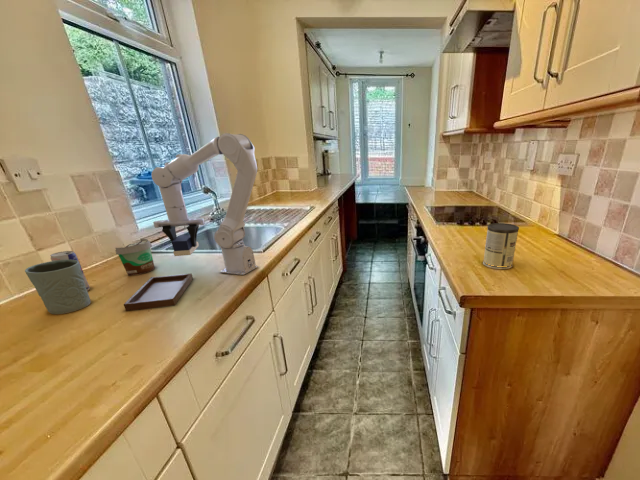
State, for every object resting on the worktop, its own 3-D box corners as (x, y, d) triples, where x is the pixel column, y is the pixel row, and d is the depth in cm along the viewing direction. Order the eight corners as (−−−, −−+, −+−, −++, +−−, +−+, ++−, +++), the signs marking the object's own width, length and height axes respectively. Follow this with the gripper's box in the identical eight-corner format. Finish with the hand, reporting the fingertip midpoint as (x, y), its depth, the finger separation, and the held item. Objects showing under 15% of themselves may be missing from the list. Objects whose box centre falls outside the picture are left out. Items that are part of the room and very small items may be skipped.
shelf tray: (193, 278, 104) (191, 273, 103) (174, 305, 87) (172, 298, 86) (153, 282, 101) (151, 277, 101) (125, 311, 84) (123, 304, 83)
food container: (142, 277, 106) (132, 248, 102) (124, 277, 106) (113, 248, 102) (166, 264, 117) (158, 238, 113) (150, 264, 117) (141, 238, 113)
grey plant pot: (56, 302, 89) (37, 262, 84) (101, 296, 93) (84, 257, 88) (37, 318, 81) (14, 275, 76) (87, 311, 84) (68, 268, 79)
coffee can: (487, 258, 122) (492, 221, 116) (515, 263, 117) (521, 225, 111) (478, 266, 114) (483, 227, 108) (508, 271, 109) (515, 231, 103)
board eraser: (190, 255, 105) (186, 240, 103) (174, 256, 104) (170, 242, 102) (199, 245, 115) (195, 232, 113) (184, 246, 113) (180, 233, 111)
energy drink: (94, 289, 97) (79, 251, 92) (74, 296, 93) (56, 257, 88) (83, 286, 99) (67, 249, 94) (62, 293, 94) (44, 255, 89)
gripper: (202, 203, 108) (212, 242, 114) (154, 205, 105) (166, 245, 110) (197, 206, 102) (207, 247, 108) (146, 209, 99) (159, 251, 104)
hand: (186, 246), depth 109 cm, fingers closed on board eraser, 5 cm apart
